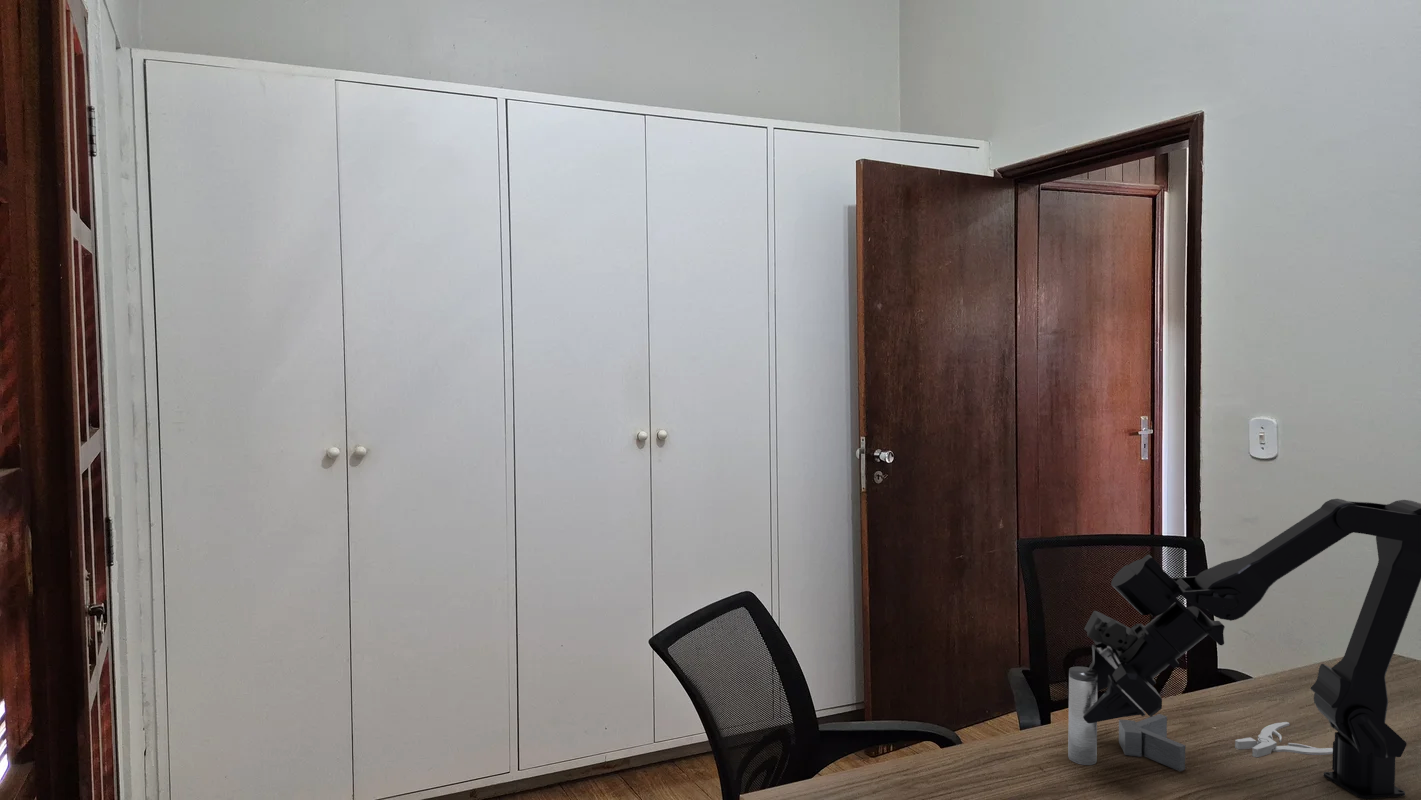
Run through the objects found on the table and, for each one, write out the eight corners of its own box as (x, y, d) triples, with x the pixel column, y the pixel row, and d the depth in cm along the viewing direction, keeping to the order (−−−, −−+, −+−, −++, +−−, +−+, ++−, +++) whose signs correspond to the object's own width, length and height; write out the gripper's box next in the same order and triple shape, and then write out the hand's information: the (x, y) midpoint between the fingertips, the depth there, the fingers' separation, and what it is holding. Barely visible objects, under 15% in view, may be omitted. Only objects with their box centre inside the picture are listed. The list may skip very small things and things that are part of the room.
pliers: (1350, 742, 126) (1277, 759, 121) (1350, 752, 126) (1277, 770, 121) (1285, 715, 135) (1215, 730, 130) (1285, 725, 135) (1215, 740, 130)
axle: (1102, 764, 122) (1103, 675, 122) (1077, 765, 122) (1077, 676, 121) (1087, 752, 126) (1088, 665, 125) (1063, 753, 126) (1063, 667, 125)
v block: (1165, 736, 131) (1165, 714, 131) (1186, 772, 120) (1187, 747, 119) (1113, 731, 133) (1114, 709, 133) (1130, 766, 121) (1130, 742, 121)
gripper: (1109, 579, 131) (1031, 644, 134) (1137, 615, 112) (1046, 689, 116) (1165, 634, 129) (1085, 698, 132) (1202, 679, 111) (1108, 752, 114)
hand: (1080, 707), depth 124 cm, fingers open, 9 cm apart
